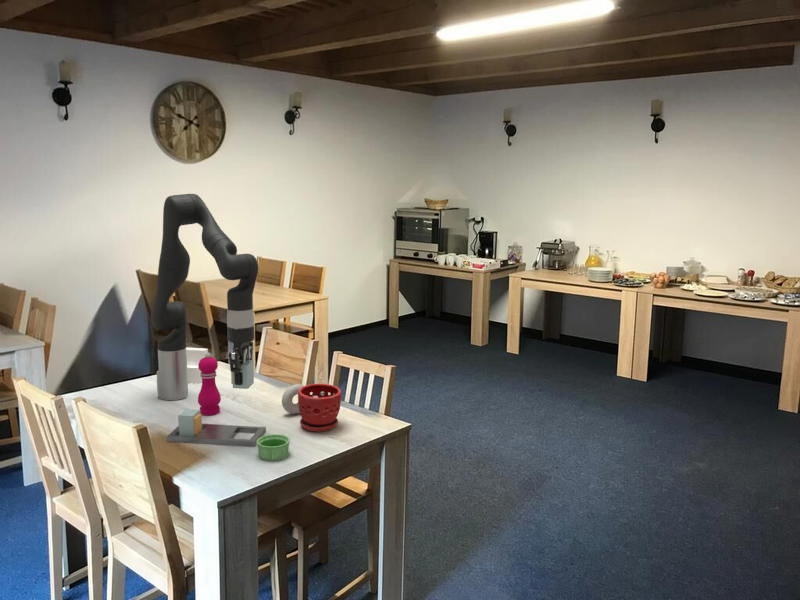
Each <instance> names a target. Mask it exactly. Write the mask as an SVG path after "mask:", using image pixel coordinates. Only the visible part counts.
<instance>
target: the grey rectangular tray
mask: <svg viewBox="0 0 800 600" xmlns="http://www.w3.org/2000/svg"><path fill="white" fill-rule="evenodd" d="M266 432H267V427H266V426H248V425H232V424H230V425H229V424H214V423H202V430H201V432H200V433H199V434H198V435H197V436H180V435H179V425H178V426H177V427H175V429H173V430H172V431H171V432H170V433H169V434H167V436H166V442H170V441H176V442H175V443H189V444H190V443H192V444H205V445H208V444H209V445H221V446H222V445H223V446H236V445H237V447H239V446H240V447H253V448H254V447H255V446H256V445H257V440H258V439H259V438H260V437H262V436H265V434H266ZM236 433H237V434H238V433H249V434H250V433H252V434H253V435H252V436H251V437H250V438H249V439H246V438H245V439H244V438H234V437H235V436H236V435H237V434H236Z"/></svg>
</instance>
